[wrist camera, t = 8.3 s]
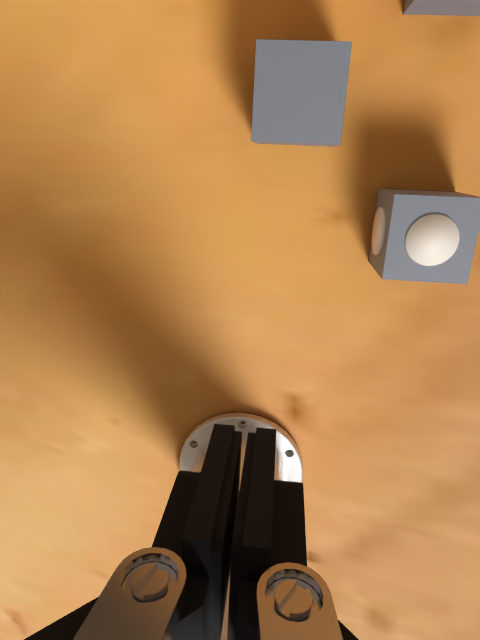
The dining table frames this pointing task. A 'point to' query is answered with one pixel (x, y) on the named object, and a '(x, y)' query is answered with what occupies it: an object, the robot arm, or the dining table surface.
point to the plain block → (300, 92)
